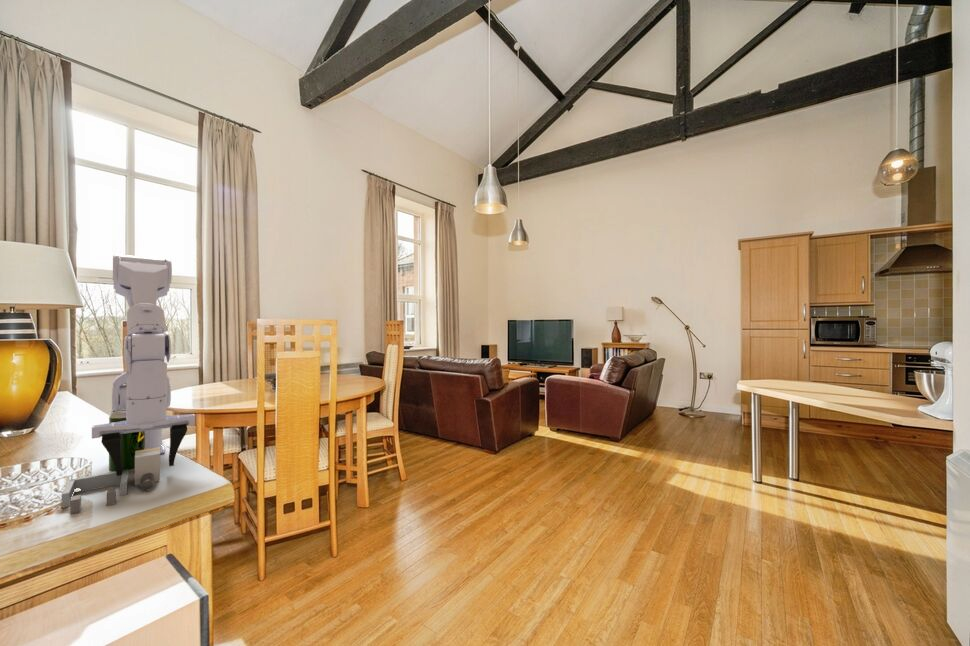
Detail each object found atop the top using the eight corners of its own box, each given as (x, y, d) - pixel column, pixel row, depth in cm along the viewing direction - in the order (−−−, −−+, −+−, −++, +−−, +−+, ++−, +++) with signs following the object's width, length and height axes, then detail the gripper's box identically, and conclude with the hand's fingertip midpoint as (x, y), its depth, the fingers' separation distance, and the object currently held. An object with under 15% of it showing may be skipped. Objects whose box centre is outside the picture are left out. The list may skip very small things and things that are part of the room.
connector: (135, 477, 74) (135, 450, 74) (159, 472, 76) (159, 446, 76) (133, 494, 67) (134, 465, 67) (160, 489, 69) (160, 460, 69)
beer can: (105, 477, 74) (105, 414, 74) (112, 468, 78) (112, 408, 78) (142, 471, 77) (143, 411, 77) (147, 463, 81) (148, 405, 81)
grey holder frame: (68, 492, 67) (68, 479, 67) (128, 481, 72) (128, 469, 72) (57, 516, 59) (57, 502, 59) (125, 501, 64) (125, 488, 64)
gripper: (90, 405, 66) (89, 486, 65) (196, 395, 75) (196, 466, 75) (94, 399, 71) (93, 473, 71) (193, 390, 80) (192, 456, 80)
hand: (146, 469), depth 73 cm, fingers open, 7 cm apart
